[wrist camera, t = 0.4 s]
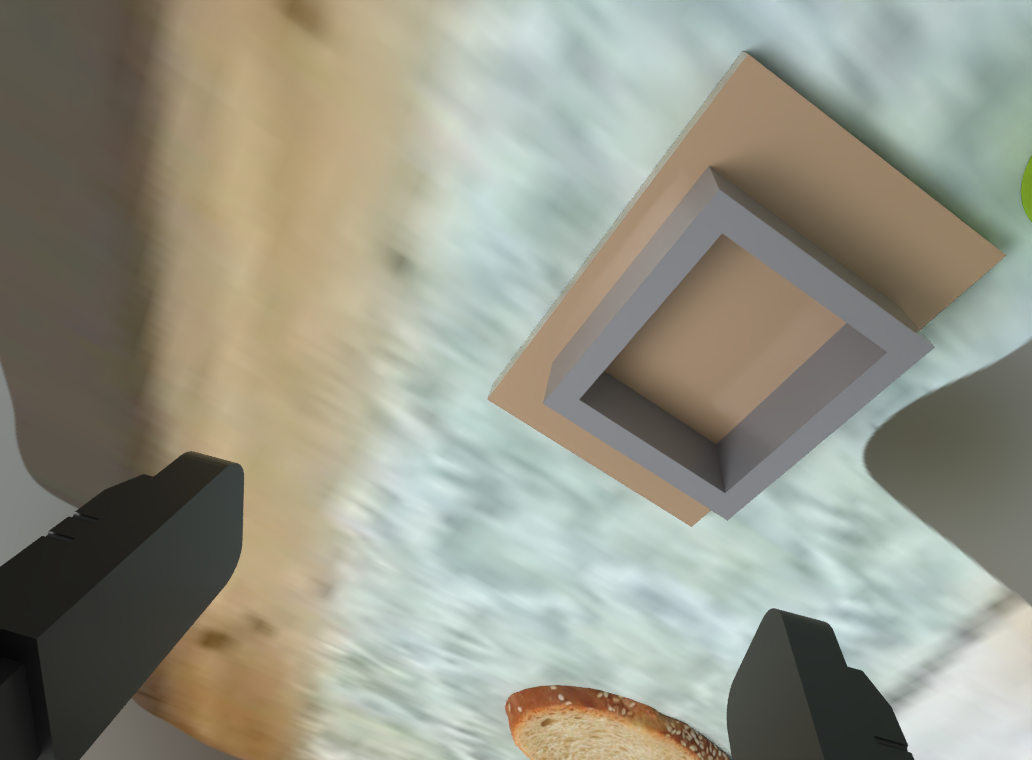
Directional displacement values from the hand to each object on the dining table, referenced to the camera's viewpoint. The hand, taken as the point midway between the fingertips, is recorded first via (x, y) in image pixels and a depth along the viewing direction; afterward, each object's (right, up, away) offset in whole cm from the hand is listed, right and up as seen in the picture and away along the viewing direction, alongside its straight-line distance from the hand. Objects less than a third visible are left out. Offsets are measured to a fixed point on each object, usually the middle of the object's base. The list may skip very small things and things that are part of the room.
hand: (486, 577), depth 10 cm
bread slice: (+9, -27, +43) cm, 52 cm away
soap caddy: (+10, +6, +23) cm, 26 cm away
